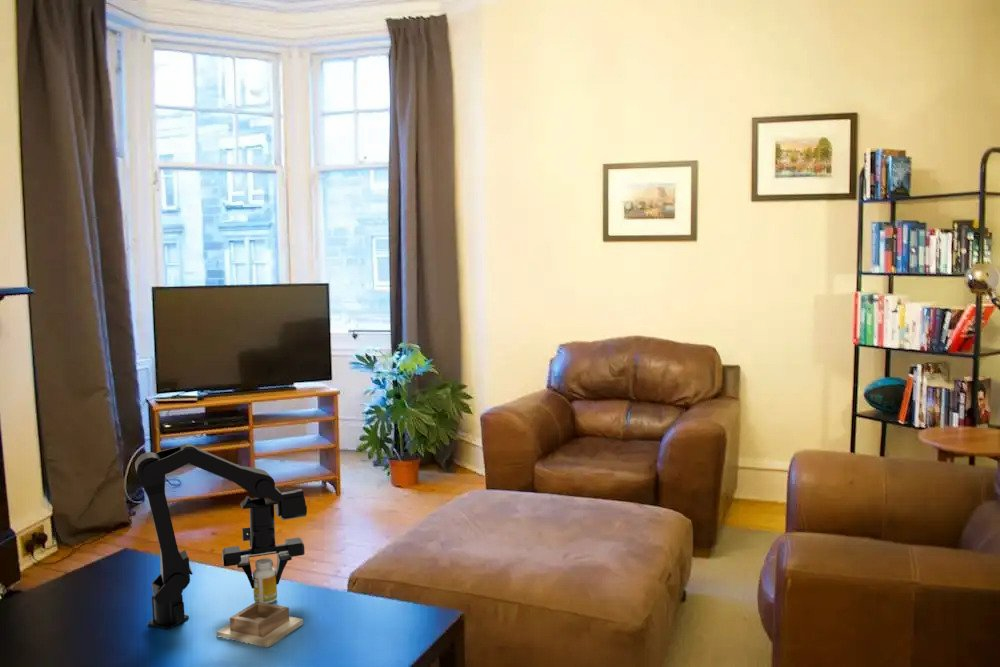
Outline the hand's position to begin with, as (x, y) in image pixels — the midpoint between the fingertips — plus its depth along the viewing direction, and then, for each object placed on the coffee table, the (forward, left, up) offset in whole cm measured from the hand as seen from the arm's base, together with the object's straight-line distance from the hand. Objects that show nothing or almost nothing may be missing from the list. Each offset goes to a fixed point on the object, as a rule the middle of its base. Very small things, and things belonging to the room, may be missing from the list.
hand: (265, 585), depth 195 cm
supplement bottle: (0, 0, -4) cm, 4 cm away
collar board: (+9, -13, -4) cm, 16 cm away
